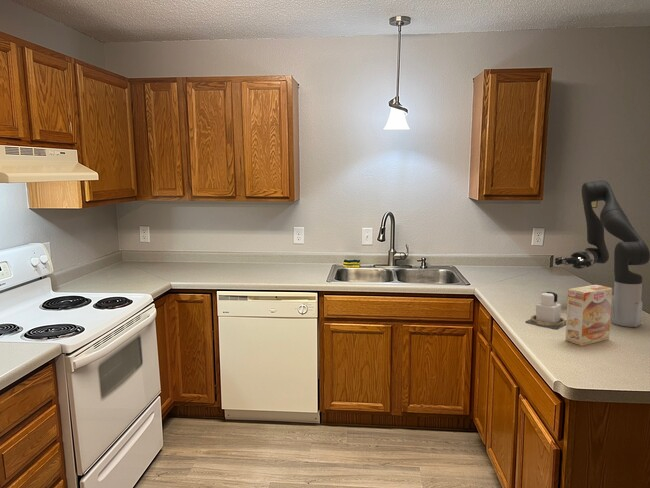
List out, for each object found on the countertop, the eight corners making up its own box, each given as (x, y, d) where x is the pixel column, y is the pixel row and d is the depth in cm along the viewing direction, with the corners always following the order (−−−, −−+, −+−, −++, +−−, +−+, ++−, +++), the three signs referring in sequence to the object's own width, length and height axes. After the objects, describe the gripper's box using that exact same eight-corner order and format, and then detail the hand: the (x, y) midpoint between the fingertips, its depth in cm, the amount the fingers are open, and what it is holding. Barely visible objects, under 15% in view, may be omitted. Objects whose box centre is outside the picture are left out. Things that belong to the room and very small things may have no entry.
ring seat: (570, 322, 192) (570, 318, 192) (556, 329, 184) (556, 325, 184) (539, 316, 202) (539, 312, 201) (525, 322, 194) (525, 318, 193)
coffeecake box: (581, 346, 166) (584, 292, 163) (564, 340, 172) (566, 288, 170) (610, 339, 172) (613, 287, 169) (592, 333, 178) (595, 283, 175)
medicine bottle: (542, 317, 198) (543, 289, 196) (560, 320, 193) (561, 292, 191) (535, 321, 193) (536, 293, 191) (553, 325, 188) (555, 295, 186)
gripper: (566, 250, 219) (550, 253, 208) (599, 252, 208) (584, 256, 197) (565, 265, 220) (549, 270, 209) (598, 269, 209) (584, 274, 198)
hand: (566, 263), depth 203 cm, fingers open, 8 cm apart
